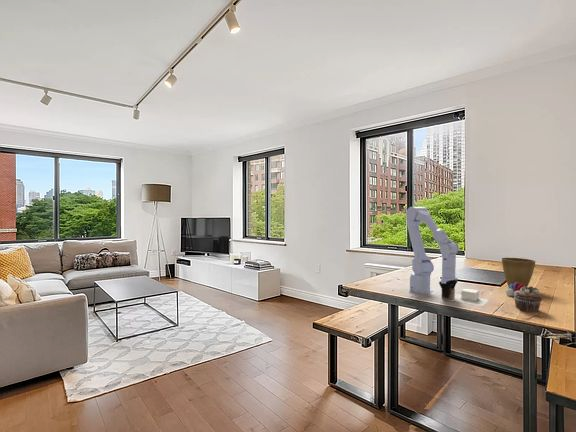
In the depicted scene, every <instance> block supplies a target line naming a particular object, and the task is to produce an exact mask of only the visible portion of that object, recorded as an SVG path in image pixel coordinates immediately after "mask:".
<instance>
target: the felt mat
mask: <svg viewBox="0 0 576 432" xmlns="http://www.w3.org/2000/svg"><path fill="white" fill-rule="evenodd" d="M439 299H440V300H446V301H449V302H457V303H462V304H467V305H472V306H478V307H484V306H485V304H487V303H488V302H489V301H490V299H487V298H480V297H479V299H478V300H477V301H476V302H475V301H469V300H464V299H461V294H460V293H455V298H454V299H453V300H448V299H443V298H442V296H441V297H440V298H439Z"/></svg>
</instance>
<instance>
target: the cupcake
mask: <svg viewBox="0 0 576 432" xmlns="http://www.w3.org/2000/svg"><path fill="white" fill-rule="evenodd" d="M516 294H517V295H515V296H513V300H514V304H515V305H514V306H515V308H516V309H518V310H519V311H521V310H522V311H523V312H527V313H538V312H539V310H540V308H541V307H540V306H541V303H542V301H543V300H542V297H543V295H542V294H541V293H540V291H539V289H538V288H537V287H534V286H527V287H526V286H524V287H523V288H521V289H520V290H519V291H517V292H516Z"/></svg>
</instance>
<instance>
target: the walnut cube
mask: <svg viewBox="0 0 576 432" xmlns="http://www.w3.org/2000/svg"><path fill="white" fill-rule="evenodd" d="M455 294H456V288H454V289H452V288H451V289H450V294H449V298H446V297H443V292H442V291H441V297H442V298H443V299H442V300H445V299H448V300H447V301H450V300H453V299H454V298H455Z"/></svg>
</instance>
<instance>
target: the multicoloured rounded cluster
mask: <svg viewBox="0 0 576 432" xmlns="http://www.w3.org/2000/svg"><path fill="white" fill-rule="evenodd" d="M524 286H525V285H524V284H520V283H518V282H516V283H515V284H511V285H510V288H511V289H510V288H507V289H506V292H505V293H506V296H508V297H512V298H514V296H515V295H517V294H516V292H517V291H519V290H520V289H521V288H523V287H524Z"/></svg>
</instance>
